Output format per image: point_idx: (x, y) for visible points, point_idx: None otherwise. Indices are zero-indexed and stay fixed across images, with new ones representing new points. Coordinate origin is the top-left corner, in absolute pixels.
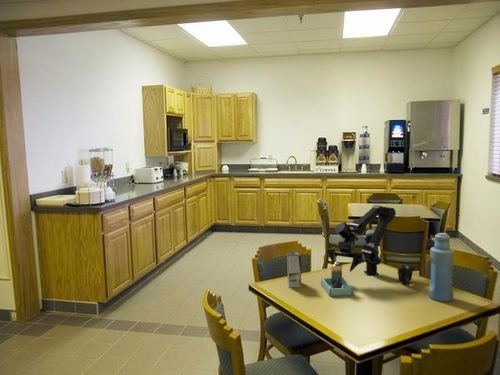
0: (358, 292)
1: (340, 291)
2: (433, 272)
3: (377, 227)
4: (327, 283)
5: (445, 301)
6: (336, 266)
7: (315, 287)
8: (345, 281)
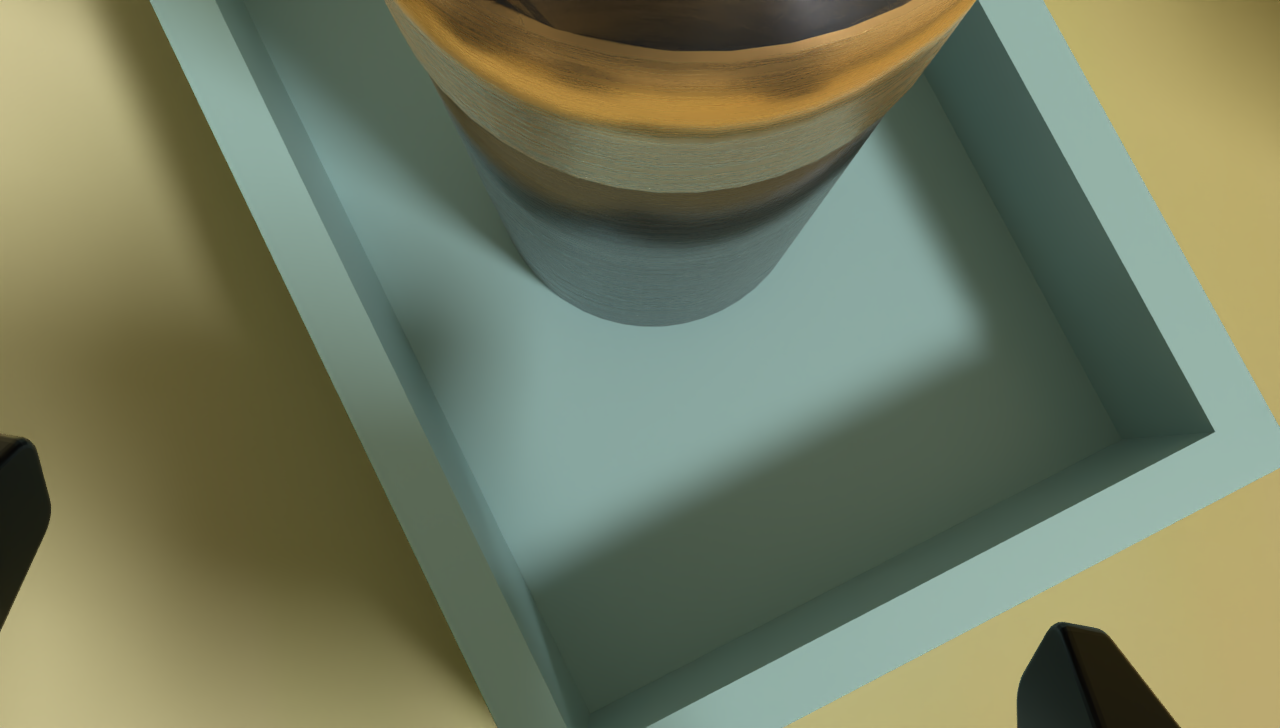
0: (24, 213)
1: None
2: None
3: None
4: (1009, 500)
5: None
6: None
7: (1267, 181)
8: (382, 391)
